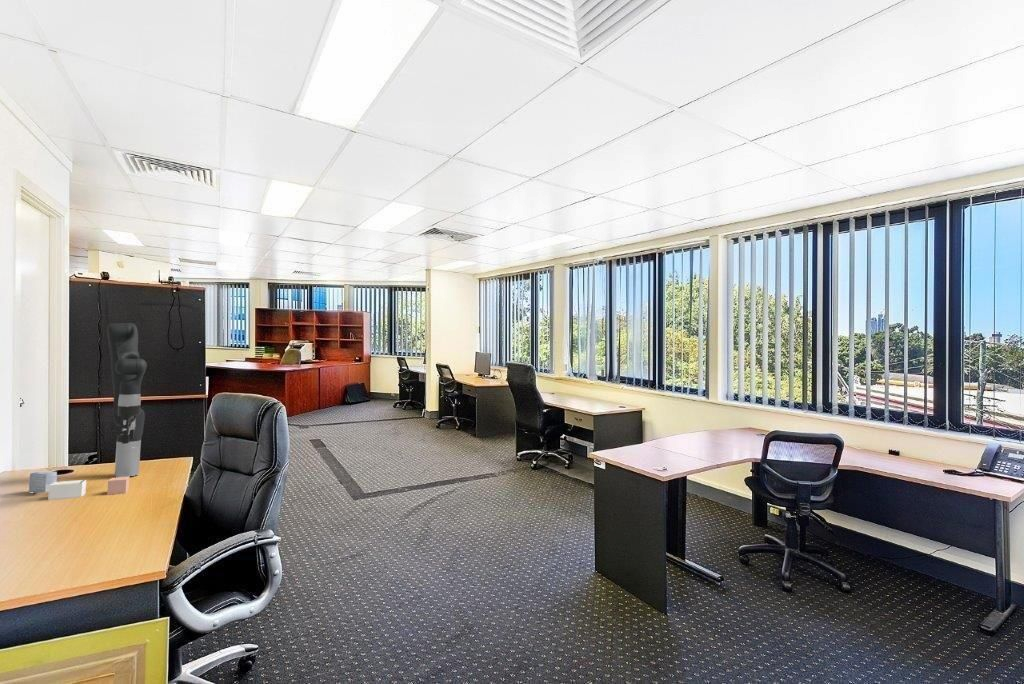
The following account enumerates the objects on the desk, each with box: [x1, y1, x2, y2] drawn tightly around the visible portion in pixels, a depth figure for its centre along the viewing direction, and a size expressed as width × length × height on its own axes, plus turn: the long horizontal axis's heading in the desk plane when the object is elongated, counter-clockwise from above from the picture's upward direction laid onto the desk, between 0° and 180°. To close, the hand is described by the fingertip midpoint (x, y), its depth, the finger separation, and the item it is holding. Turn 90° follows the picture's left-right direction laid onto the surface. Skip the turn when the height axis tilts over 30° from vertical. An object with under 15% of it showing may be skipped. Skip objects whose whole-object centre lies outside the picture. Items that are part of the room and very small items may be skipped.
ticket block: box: [47, 479, 87, 501], centre depth 187 cm, size 5×10×6 cm, turn 119°
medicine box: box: [28, 470, 58, 494], centre depth 195 cm, size 8×4×9 cm, turn 84°
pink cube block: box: [106, 477, 130, 496], centre depth 195 cm, size 5×6×6 cm
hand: (127, 441), depth 199 cm, fingers open, 8 cm apart
